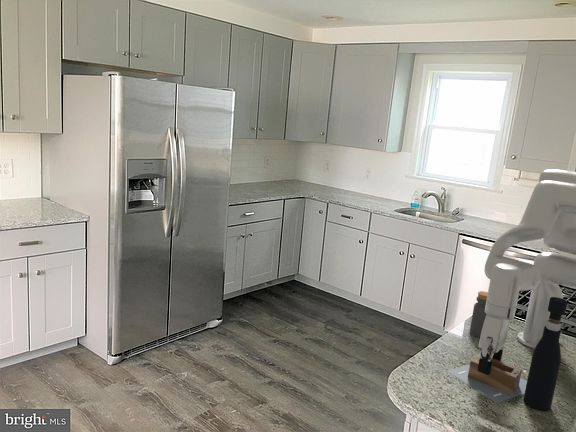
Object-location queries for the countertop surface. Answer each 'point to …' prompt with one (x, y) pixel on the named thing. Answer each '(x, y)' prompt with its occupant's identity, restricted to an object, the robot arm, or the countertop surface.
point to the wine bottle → (546, 360)
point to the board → (487, 386)
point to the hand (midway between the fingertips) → (489, 366)
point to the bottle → (478, 314)
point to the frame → (496, 375)
